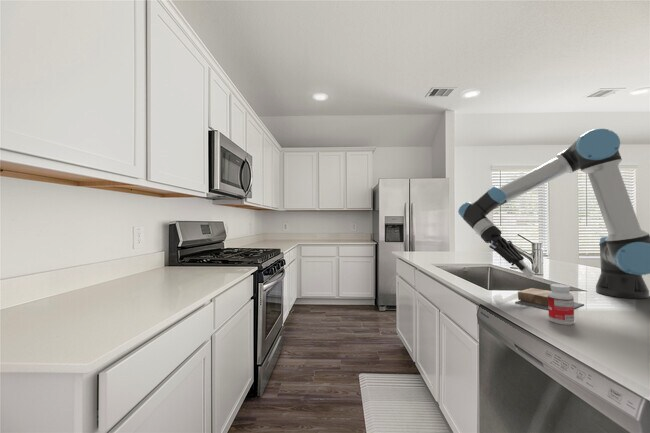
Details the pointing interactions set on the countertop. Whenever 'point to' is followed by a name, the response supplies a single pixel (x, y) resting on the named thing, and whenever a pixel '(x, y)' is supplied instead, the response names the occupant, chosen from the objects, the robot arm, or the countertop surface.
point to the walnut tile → (534, 296)
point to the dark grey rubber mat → (543, 305)
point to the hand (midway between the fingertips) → (531, 275)
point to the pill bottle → (561, 304)
